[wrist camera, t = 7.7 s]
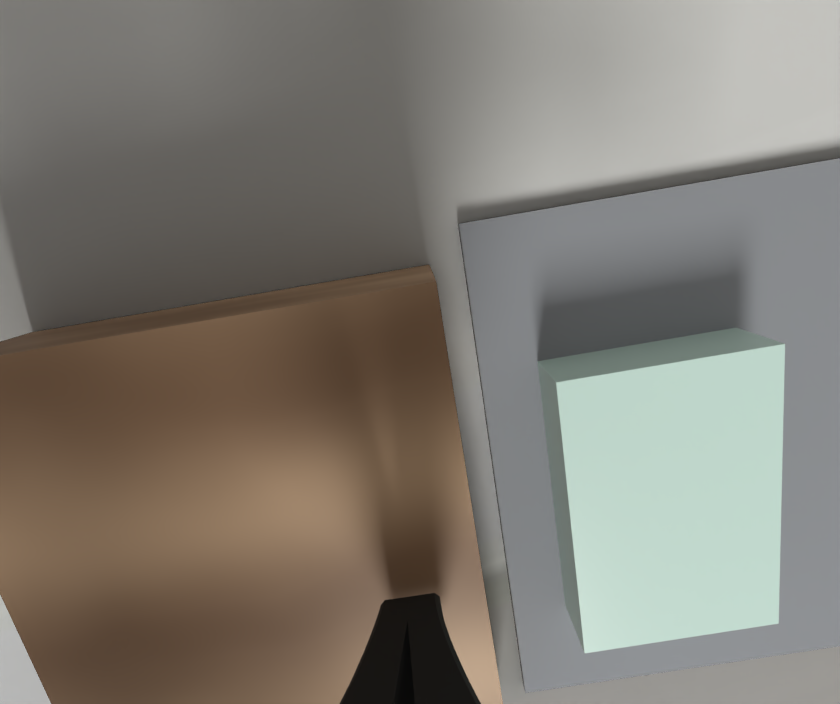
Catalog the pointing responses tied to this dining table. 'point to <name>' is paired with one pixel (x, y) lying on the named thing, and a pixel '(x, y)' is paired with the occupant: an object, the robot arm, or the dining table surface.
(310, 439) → the brown wooden block
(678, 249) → the mat
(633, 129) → the dining table surface
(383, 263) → the dining table surface
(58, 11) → the dining table surface
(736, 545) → the mint green carton
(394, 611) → the robot arm
